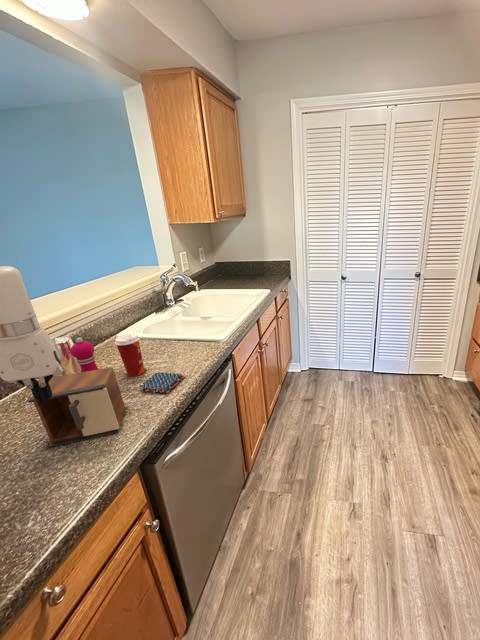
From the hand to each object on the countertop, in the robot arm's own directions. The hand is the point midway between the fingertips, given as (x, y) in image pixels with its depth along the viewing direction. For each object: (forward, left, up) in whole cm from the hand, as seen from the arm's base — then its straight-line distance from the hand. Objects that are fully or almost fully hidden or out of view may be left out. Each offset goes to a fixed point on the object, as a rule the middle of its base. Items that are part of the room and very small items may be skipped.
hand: (45, 399), depth 75 cm
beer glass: (-10, +41, -15) cm, 45 cm away
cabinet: (+3, +9, -15) cm, 18 cm away
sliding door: (+7, +2, -14) cm, 16 cm away
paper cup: (+11, +37, -15) cm, 42 cm away
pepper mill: (+1, +26, -15) cm, 31 cm away
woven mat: (+21, +24, -15) cm, 36 cm away
